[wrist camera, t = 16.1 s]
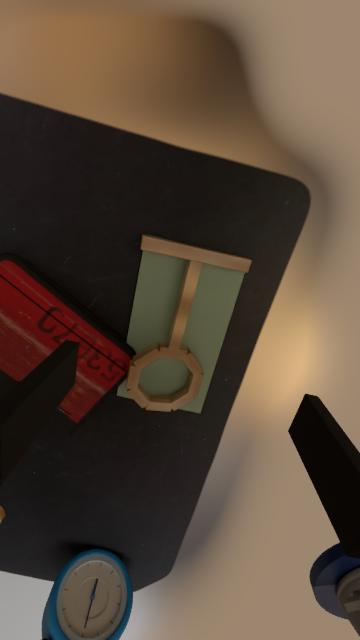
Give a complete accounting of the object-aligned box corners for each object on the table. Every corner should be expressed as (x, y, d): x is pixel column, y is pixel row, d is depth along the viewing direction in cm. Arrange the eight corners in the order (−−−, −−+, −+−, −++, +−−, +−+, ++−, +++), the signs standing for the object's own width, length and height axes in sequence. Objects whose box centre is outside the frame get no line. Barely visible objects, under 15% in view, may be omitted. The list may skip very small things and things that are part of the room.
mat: (200, 411, 39) (200, 413, 39) (117, 393, 38) (116, 395, 38) (248, 259, 31) (249, 259, 31) (146, 234, 31) (145, 234, 31)
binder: (69, 439, 38) (-68, 343, 34) (76, 427, 40) (-52, 336, 36) (143, 362, 34) (-2, 245, 30) (146, 354, 36) (11, 244, 32)
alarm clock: (140, 557, 50) (120, 687, 36) (129, 575, 52) (107, 706, 38) (71, 537, 49) (23, 664, 35) (63, 557, 51) (15, 685, 37)
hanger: (198, 407, 39) (201, 414, 37) (112, 400, 36) (111, 407, 34) (247, 258, 31) (252, 260, 30) (142, 233, 28) (143, 235, 27)
